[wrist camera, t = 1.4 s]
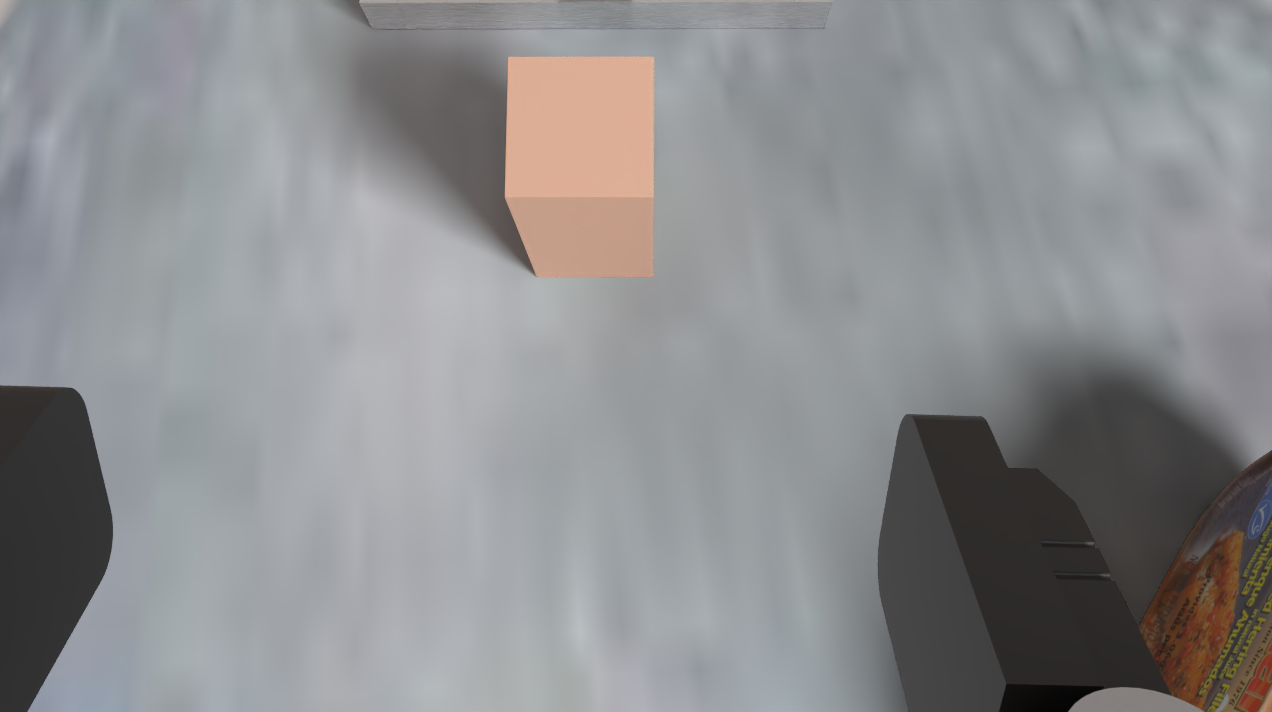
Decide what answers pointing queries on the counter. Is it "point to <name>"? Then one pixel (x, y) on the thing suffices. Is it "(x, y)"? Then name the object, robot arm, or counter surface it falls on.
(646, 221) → the peg
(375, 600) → the counter surface
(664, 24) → the grey flat frame
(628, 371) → the counter surface
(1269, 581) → the tin
